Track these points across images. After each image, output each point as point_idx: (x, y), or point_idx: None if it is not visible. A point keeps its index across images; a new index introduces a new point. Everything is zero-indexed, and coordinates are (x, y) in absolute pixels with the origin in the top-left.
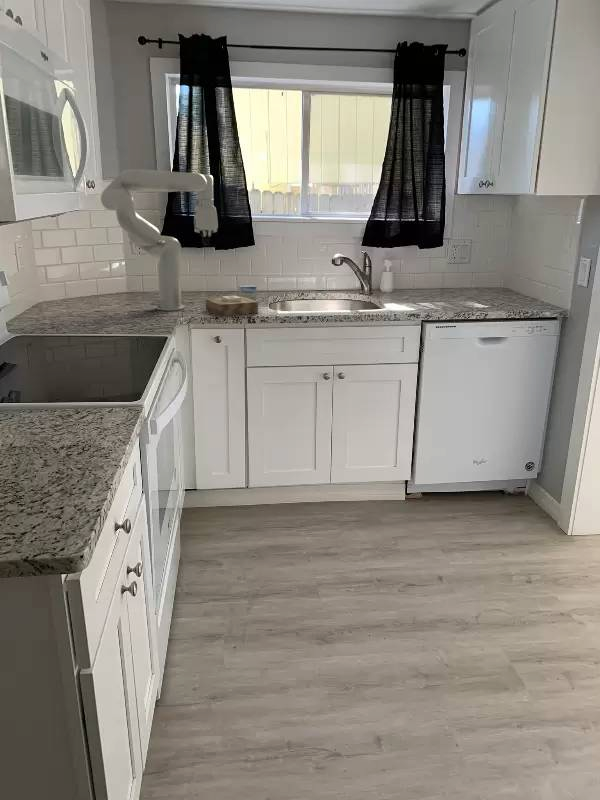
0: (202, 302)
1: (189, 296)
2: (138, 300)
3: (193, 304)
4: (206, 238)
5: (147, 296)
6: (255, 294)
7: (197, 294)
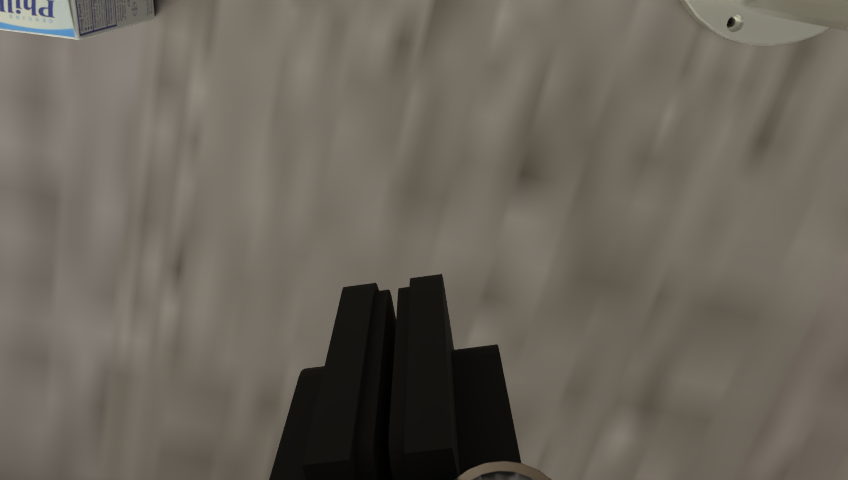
0: (440, 159)
1: None
2: (840, 342)
3: (534, 84)
4: (422, 401)
5: (722, 462)
6: None
7: None
